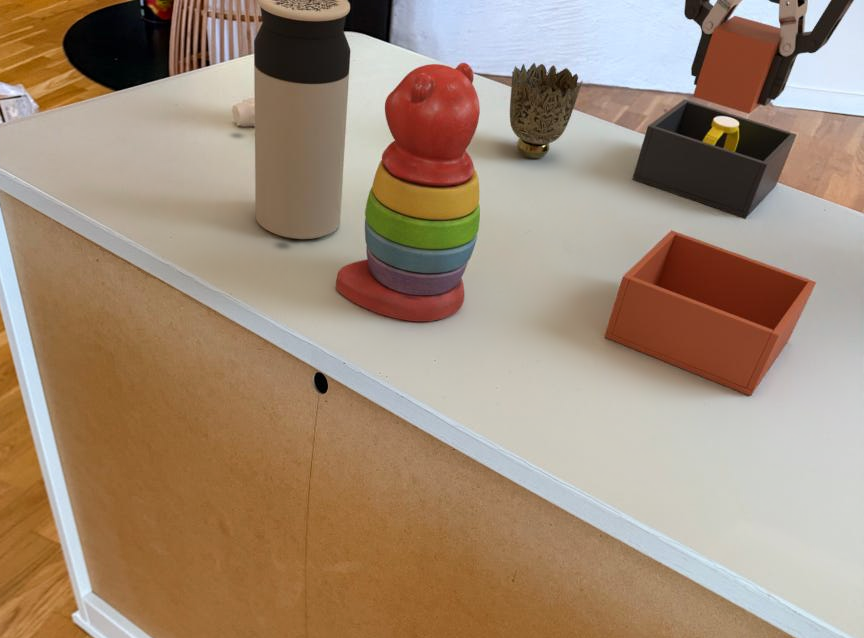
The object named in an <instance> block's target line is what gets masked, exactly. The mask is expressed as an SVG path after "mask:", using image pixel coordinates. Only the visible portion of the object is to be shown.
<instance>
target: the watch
mask: <svg viewBox="0 0 864 638" xmlns="http://www.w3.org/2000/svg"><path fill="white" fill-rule="evenodd" d="M711 126H712V128H711V130H710V131H709V132H708V133H707V134H706V136H705V138H704V139H703V141H702V142H705V143H708V144H711V145H715V144H716V142H717V140H718V139H719V138H720V137H721V136H722V134H723V133H727V138H726V141H725V145H724V149H727V150H730V151H733V152H735V150H736V147H737V144H738V140H739V128H738V126H739V122H738V121H737V120H735V119H733V118H730V117H726V116H718V117H715V118H714V119H713V122H712V125H711Z"/></svg>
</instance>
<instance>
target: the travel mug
mask: <svg viewBox="0 0 864 638" xmlns="http://www.w3.org/2000/svg"><path fill="white" fill-rule="evenodd" d="M256 3H257V5H258V6H259V8H260V9H259V10H260V15H261V22H262V23H261V25H260V27H259V29H258V31H257V33H256V36H255V38H254V40H253V55H254V56H253V58H254V59H253V61H254V63H253V67H254V68H253V71H254V72H253V73H254V78H253V79H254V80H253V83H254V86H253V87H254V88H253V89H254V98H255V127H254V180H255V181H254V182H255V183H254V184H255V185H254V187H255V188H254V190H255V191H254V192H255V193H254V194H255V195H254V196H255V197H254V198H255V203H254V205H255V220H256V222H257V223H258V224H259V226H261V227H262V228H264V230H267V231H269V232H270V233H272V234H274V235H277V236H279V237H283V238H286V239H296V240H312V239H313V240H314V239H317V238H322V237H325V236H328V235H329V234H332V233H334V232H336V230H338V229H339V227H340V225H341V213H342V195H343V179H344V163H345V147H346V134H347V133H346V129H347V113H348V100H349V99H348V97H349V82H350V65H351V47H350V45H349V42H348V39H347V37H346V33H345V31H344V30H345V29H344V28H345V24H346V19H347V15H348V14H349V13H350V10H351V3H350V2H349V0H256Z"/></svg>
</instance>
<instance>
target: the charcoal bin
mask: <svg viewBox="0 0 864 638" xmlns="http://www.w3.org/2000/svg"><path fill="white" fill-rule="evenodd" d="M718 116H726V117H730V118H733V119H735V120H737V121H738V122H739V126H738V128H739V140H738V144H737V147H736V150H735V152H733V151H730V150H727V149H724V145H725V141H726V138H727V133H723V134H722V136H721V137H720V138H719V139H718V140H717V142H716V144H715V145H711V144H708V143H705V142H702V141H703V139H704V138H705V136H706V134H707V133H708V132H709V131H710V130H711V128H712V126H711V125H712V122H713V119H714V118H715V117H718ZM796 138H797V133H794V132H791V131H788V130H784V129H781V128H778V127H775V126H772V125H769V124H765V123H762V122H758V121H755V120H752V119H749V118H745V117H743V116H739V115H736V114H734V113H730V112H727V111H724V110H721V109H717V108H713V107H711V106H707V105H705V104H704V105H703V104H700V103H697V102H694V101H691V100H688V99H682V100H680V102H678V103H677V104H675V105H674V106H673V107H671V108H670V109H668V111H666V112H665V113H664V114H662V115H661V116H659V117H658V118H657V119H655V120H654V121H653V122H652V123H650V124H648V125H647V128H646V131H645V133H644V138H643V141H642V145H641V148H640V151H639V155H638V158H637V162H636V165H635V168H634V172H633V176H632V180H634V181H636V182H639V183H643V184H645V185H648V186H651V187H654V188H657V189H660V190H663V191H665V192H668V193H672V194H675V195H677V196H681V197H683V198H686V199H689V200H692V201H695V202H698V203H701V204H703V205H706V206H710V207H712V208H715V209H718V210H721V211H724V212H727V213H730V214H733V215H735V216H738V217H741V218H744V219H747V218H748V217H749V216H750V214H752V212H753V211H754V210H755V209H756V208H757V207H758V206H759V205H760V204H761V203H762V201H764V200H765V198H766V197H767V196H768V195H769V194H770V193H771V192H772V191H773V189H774V188H775V187H776V186H777V184H778V182H779V179H780V177H781V175H782V172H783V170H784V167H785V165H786V162H787V160H788V158H789V155H790V153H791V150H792V148H793V145H794V143H795V141H796Z"/></svg>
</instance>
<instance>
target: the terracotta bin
mask: <svg viewBox="0 0 864 638" xmlns="http://www.w3.org/2000/svg"><path fill="white" fill-rule="evenodd" d="M656 243H657V244H655V245H654V246H653V247H652V248H651V249H650V250H649V251H648V252H647V253H646V254H645V255H644V256H642V258H641V259H640V260H638V261H637V262H636V263H635V264H634V265H633V266H632V267H631V268H630V269H629V270H628V271H627V272H626V273H625V274H623V276H622V278H621V280H620V281H621V282H620V285H619V288H618V291H617V294H616V297H615V301H614V304H613V307H612V311H611V314H610V317H609V319H608V320H609V321H608V324H607V327H606V329H605V333H604V338H606V339H608V340H611V341H613V342H616V343H618V344H621V345H623V346H625V347H628V348H631V349H633V350H636V351H638V352H640V353H643V354H645V355H648V356H651V357H653V358H655V359H658V360H661V361H663V362H665V363H667V364H670V365H673V366H675V367H677V368H680V369H683V370H685V371H687V372H690V373H692V374H695V375H697V376H700V377H702V378H705V379H707V380H709V381H713V382H715V383H717V384H720V385H722V386H725V387H728V388H730V389H732V390H734V391H737V392H740V393H742V394H744V395H746V396H750V397H751V396H752V395H753V393H754V392H755V391H756V389H757V388H758V386H759V385H760V383H761V382H762V380H763V379H764V378H765V376H766V375H767V373H768V372H769V370H770V369H771V367H772V366H773V365H774V363H775V361H776V360H777V359H778V357H779V355H780V354H781V353H782V351H783V350H784V348H785V347H786V345H787V344H788V342H789V341H790V339H791V336H792V335H793V333H794V330H795V328H796V326H797V324H798V322H799V320H800V318H801V316H802V314H803V312H804V309H805V307H806V305H807V303H808V301H809V299H810V296H811V294H812V293H813V291H814V289H815V286H816V284H817V281H815V280H812V279H810V278H806V277H804V276H801V275H798V274H795V273H792V272H790V271H787V270H784V269H781V268H779V267H776V266H773V265H770V264H768V263H766V262H765V263H764V262H762V261H758V260H757V259H753V258H751V257H747V256H745V255H742V254H739V253H736V252H733V251H731V250H728V249H724V247H723V248H722V247H720V246H717V245H714V244H711V243H708V242H705V241H702V240H700V239H697V238H695V237H692V236H689V235H686V234H683V233H680V232H677V231H676V230H672V229H671V230H670V231H669V232H667V234H666V235H665V236H663V237H662V238H661V240H659V241H658V242H656Z"/></svg>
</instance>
